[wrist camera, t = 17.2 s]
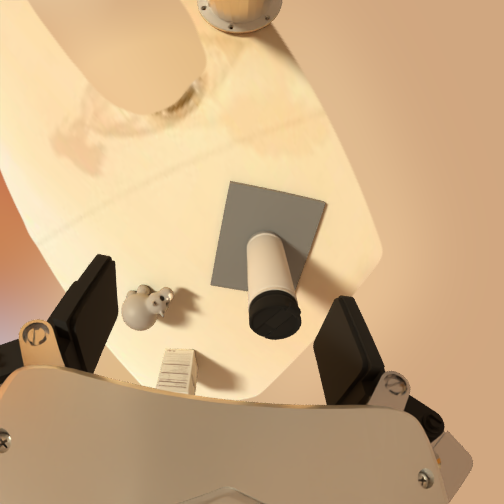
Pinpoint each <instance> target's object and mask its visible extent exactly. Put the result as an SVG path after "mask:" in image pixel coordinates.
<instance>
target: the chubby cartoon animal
mask: <svg viewBox="0 0 504 504" xmlns="http://www.w3.org/2000/svg"><path fill="white" fill-rule="evenodd" d="M149 293H150V289H149V287H148V286H146V285H140V286H139V287H138V289H137V292H135V291H129V292H128V293H127V296H126V300H125V301H124V303H123V305H122V311H121V312H122V317H123V320H124V322H125V323H126V324H127V325H128V326H129V327H130V328H132V329H134V330H138V331H142V330H146V329H149V328H150V327H152V326H153V325H154V323H155V322H156V320H157V316H158V314H160V315H161V316H162V317H164V313H165V312H166V311H167V309H168V305H169V302H170V301H171V300H172V299H173V297H174V294H173V291H172V290H171V289H170V288H168V287H164V288H162V289H161V290H160V291H158V292H153V293H151V294H150V295H149Z"/></svg>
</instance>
